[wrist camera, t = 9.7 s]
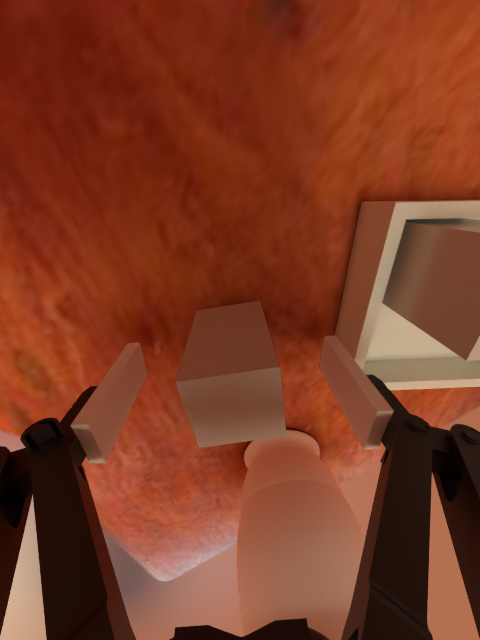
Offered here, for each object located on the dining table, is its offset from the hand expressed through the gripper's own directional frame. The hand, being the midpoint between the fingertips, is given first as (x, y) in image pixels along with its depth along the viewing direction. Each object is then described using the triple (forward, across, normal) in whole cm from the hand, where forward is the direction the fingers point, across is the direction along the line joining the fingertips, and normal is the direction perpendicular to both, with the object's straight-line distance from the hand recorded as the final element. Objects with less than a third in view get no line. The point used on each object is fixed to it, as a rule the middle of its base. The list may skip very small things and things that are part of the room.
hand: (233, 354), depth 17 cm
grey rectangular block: (+3, 0, 0) cm, 3 cm away
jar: (+3, +5, -16) cm, 17 cm away
